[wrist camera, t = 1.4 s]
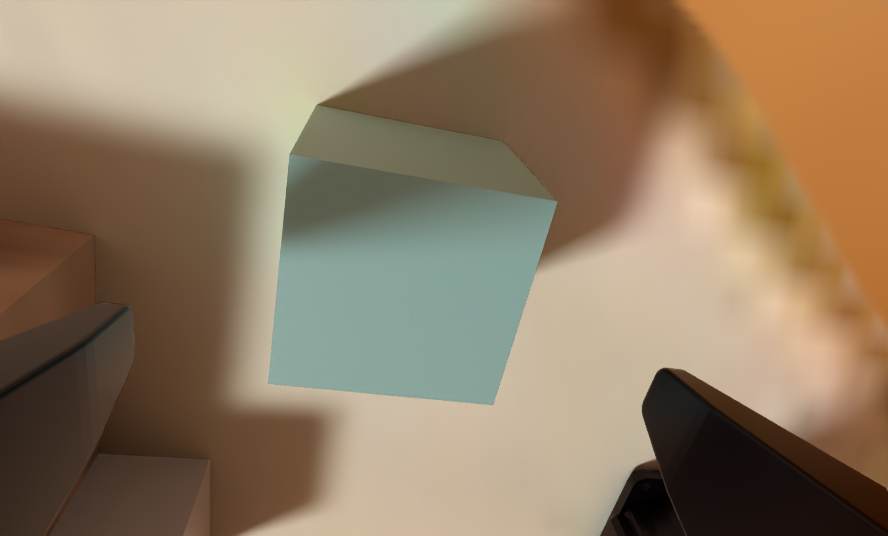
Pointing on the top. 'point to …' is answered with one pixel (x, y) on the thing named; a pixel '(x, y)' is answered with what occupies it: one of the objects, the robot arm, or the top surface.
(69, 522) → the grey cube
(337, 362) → the teal cube
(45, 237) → the walnut block
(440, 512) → the top surface
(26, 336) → the robot arm
